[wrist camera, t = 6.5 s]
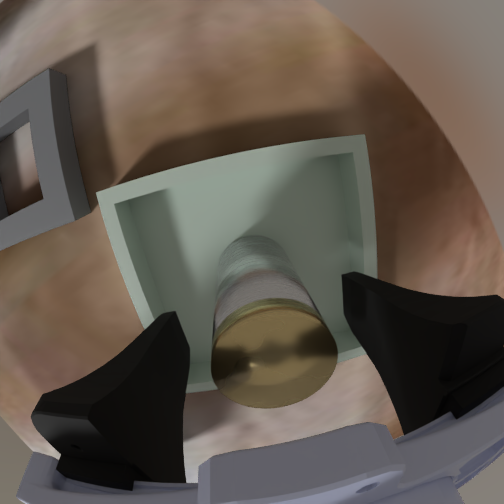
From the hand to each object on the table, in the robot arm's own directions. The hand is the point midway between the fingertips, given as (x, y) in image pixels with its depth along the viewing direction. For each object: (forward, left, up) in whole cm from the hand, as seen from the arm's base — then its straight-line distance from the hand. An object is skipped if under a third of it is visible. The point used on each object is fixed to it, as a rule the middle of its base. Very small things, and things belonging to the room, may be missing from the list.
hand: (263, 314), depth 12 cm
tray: (0, 0, -5) cm, 5 cm away
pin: (0, 0, -4) cm, 4 cm away
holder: (+10, +13, -5) cm, 17 cm away
